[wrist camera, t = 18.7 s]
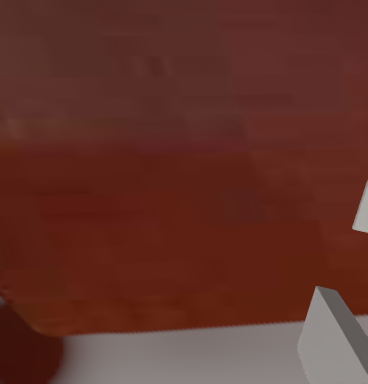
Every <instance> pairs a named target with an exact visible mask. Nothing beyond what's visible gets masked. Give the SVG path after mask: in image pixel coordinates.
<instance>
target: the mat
mask: <svg viewBox="0 0 368 384" xmlns="http://www.w3.org/2000/svg"><path fill="white" fill-rule="evenodd" d="M352 229H354V230H359V231H363V232H368V181H367V184H366V187H365V190H364V193H363V196H362V199H361V202H360V205H359V208H358V211H357V214H356V218H355V221H354V224H353V227H352Z"/></svg>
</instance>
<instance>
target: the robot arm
mask: <svg viewBox="0 0 368 384" xmlns="http://www.w3.org/2000/svg"><path fill="white" fill-rule="evenodd" d="M297 350H298V353H299V356H300V359H301V362H302V365H303V368H304V371H305V374H306V377H307V380H308V383H309V384H368V337H367V335H366V334H365V333H364V331H363V329H362V328H361V326H360V325H359V323H358V322H357V320H356V319H355V317H354V316H353V314H352V313H351V311H350V310H349V309H348V307H347V306H346V304H345V303H344V301H343V300H342V298H341V297H340V295H339V294H338V292H337V291H336V290H332V289H327V288H323V287H319V286H316V289H315V292H314V295H313V298H312V301H311V304H310V308H309V311H308V314H307V317H306V320H305V323H304V327H303V330H302V333H301V336H300V339H299V342H298V345H297Z"/></svg>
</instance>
